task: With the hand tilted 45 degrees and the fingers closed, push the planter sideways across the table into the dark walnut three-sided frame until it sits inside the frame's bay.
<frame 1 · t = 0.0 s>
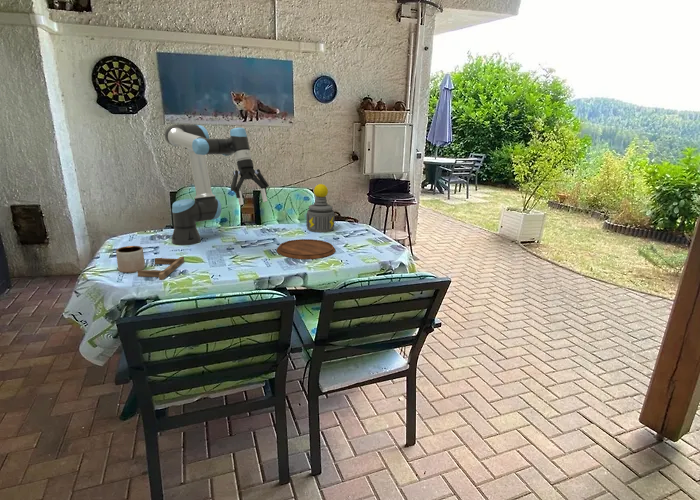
hand: (253, 203, 196), 28 cm above the table, tool tilted 20°, fingers open, 13 cm apart
planter: (132, 269, 182), on the table
decorative lamp: (320, 229, 265), on the table
walnut frame: (160, 269, 182), on the table
cutting board: (306, 251, 219), on the table
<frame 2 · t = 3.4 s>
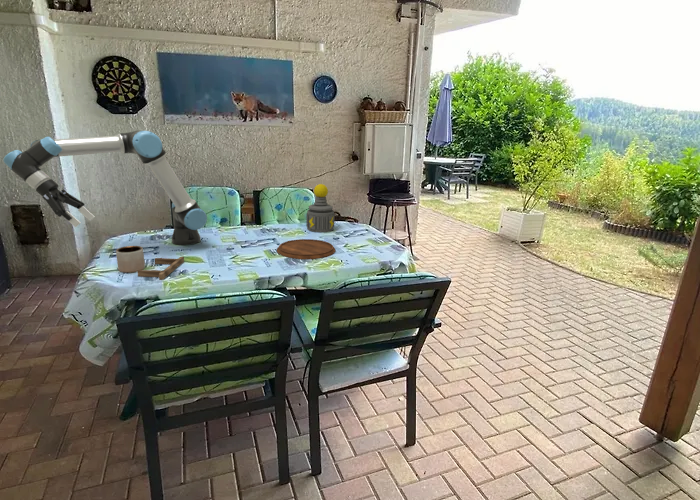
hand: (85, 221, 172), 22 cm above the table, tool tilted 40°, fingers open, 13 cm apart
nothing on the table moved.
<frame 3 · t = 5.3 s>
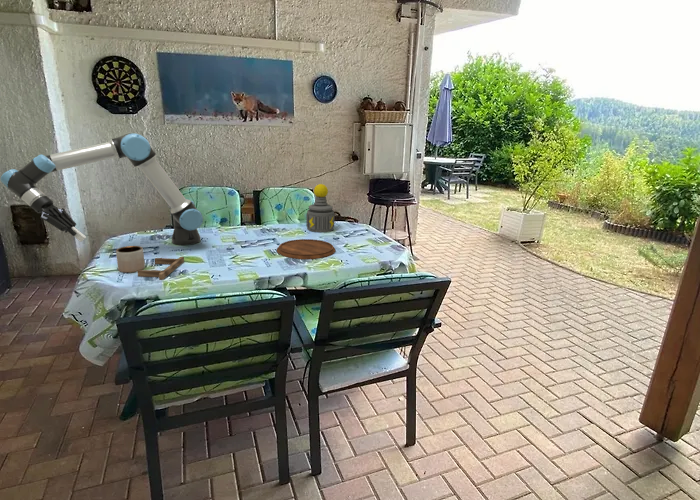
hand: (83, 239, 177), 13 cm above the table, tool tilted 45°, fingers closed
nothing on the table moved.
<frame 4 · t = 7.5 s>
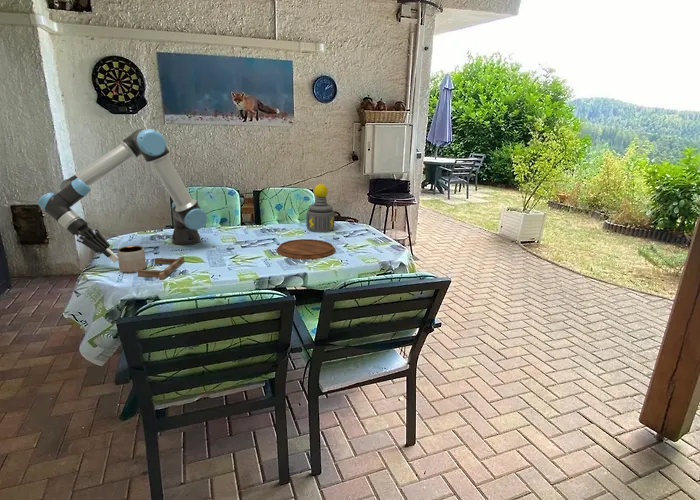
hand: (117, 260, 180), 4 cm above the table, tool tilted 45°, fingers closed
planter: (133, 269, 181), on the table, touching gripper
everything else where it was.
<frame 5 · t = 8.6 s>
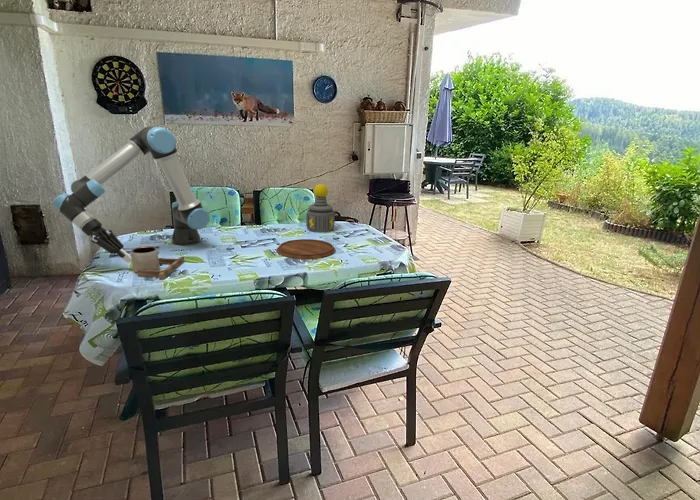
hand: (130, 261, 180), 4 cm above the table, tool tilted 45°, fingers closed
planter: (146, 270, 181), on the table, touching gripper
everything else where it was.
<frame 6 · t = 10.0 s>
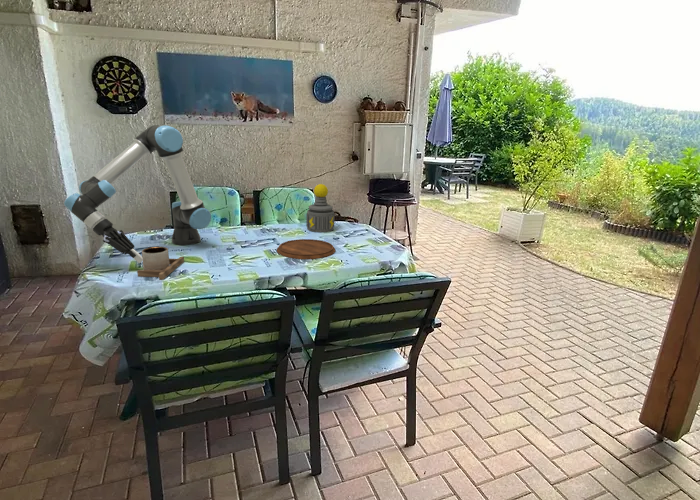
hand: (141, 260, 180), 4 cm above the table, tool tilted 45°, fingers closed
planter: (157, 270, 181), on the table, touching gripper
everything else where it was.
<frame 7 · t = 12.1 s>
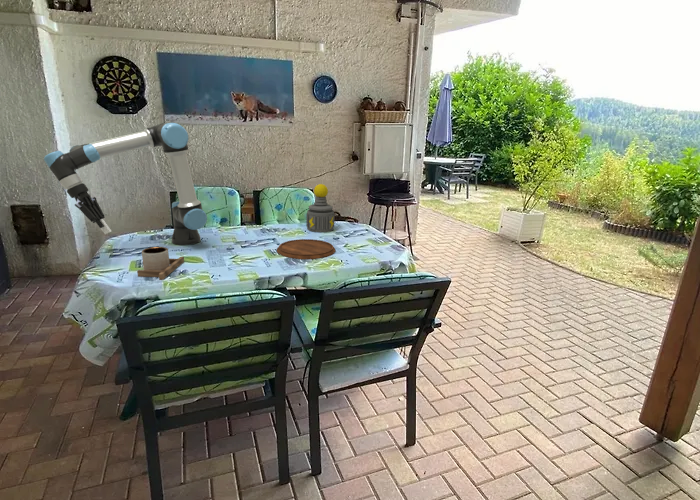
hand: (108, 232, 181), 16 cm above the table, tool tilted 30°, fingers closed
planter: (157, 270, 181), on the table
everything else where it was.
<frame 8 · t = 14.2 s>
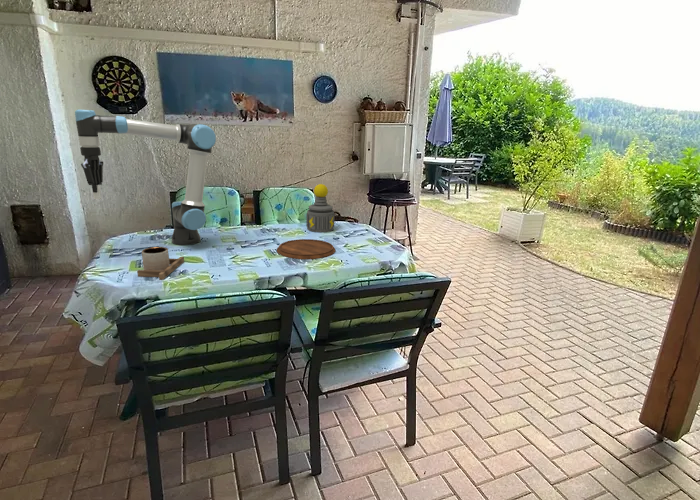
hand: (97, 199, 184), 29 cm above the table, tool pointing down, fingers closed
nothing on the table moved.
at the end: planter inside the target area (0.5 cm from its centre), on the table; planter tilted 0°; planter moved 11.5 cm from its start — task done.
